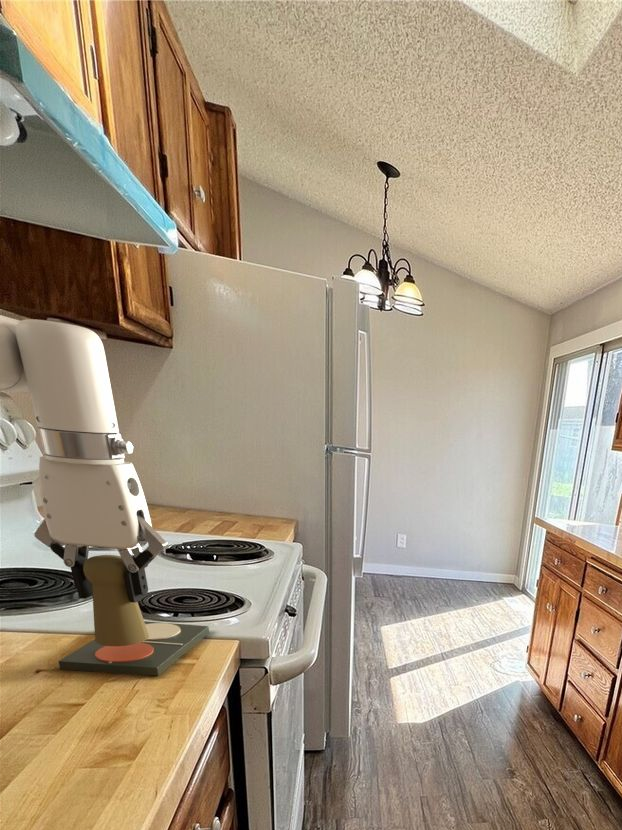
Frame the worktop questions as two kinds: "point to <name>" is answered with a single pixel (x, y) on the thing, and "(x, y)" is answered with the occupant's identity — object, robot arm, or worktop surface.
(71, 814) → the worktop surface
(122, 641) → the cork
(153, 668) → the board
